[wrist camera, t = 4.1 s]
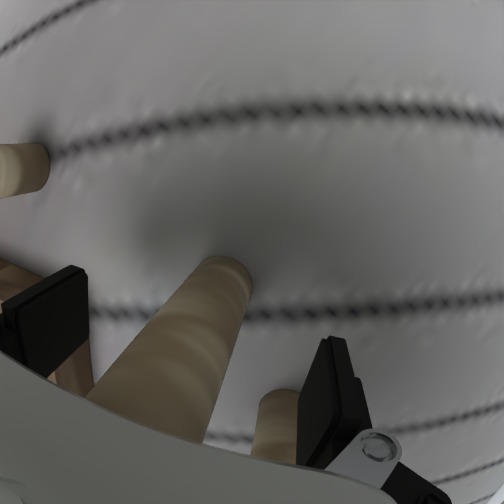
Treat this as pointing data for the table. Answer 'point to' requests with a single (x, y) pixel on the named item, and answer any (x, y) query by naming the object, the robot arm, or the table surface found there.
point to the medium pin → (277, 427)
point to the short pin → (22, 168)
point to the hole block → (75, 366)
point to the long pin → (181, 353)
